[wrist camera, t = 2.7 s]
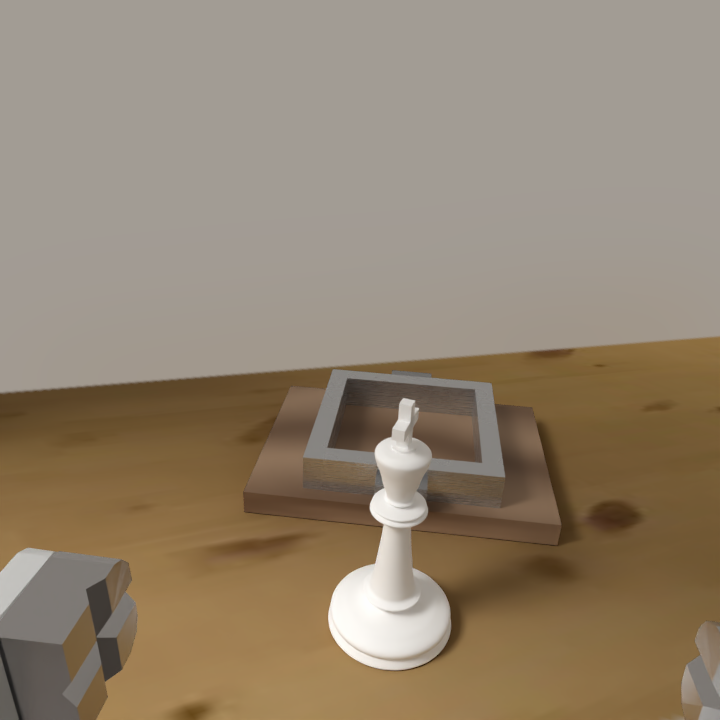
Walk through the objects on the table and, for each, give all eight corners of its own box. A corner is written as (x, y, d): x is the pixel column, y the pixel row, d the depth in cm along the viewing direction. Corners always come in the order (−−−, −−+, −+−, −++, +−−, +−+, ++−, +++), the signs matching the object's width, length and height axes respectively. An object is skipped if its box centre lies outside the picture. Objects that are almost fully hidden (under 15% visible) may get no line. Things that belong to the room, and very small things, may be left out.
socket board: (557, 545, 30) (561, 525, 30) (244, 511, 32) (243, 491, 31) (529, 424, 40) (532, 407, 40) (291, 402, 42) (291, 385, 41)
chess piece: (463, 594, 28) (493, 385, 23) (432, 689, 23) (463, 457, 19) (354, 561, 29) (364, 359, 25) (307, 645, 25) (309, 420, 21)
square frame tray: (501, 524, 30) (507, 492, 29) (298, 502, 31) (298, 471, 30) (486, 400, 40) (490, 374, 40) (335, 386, 41) (335, 361, 40)
